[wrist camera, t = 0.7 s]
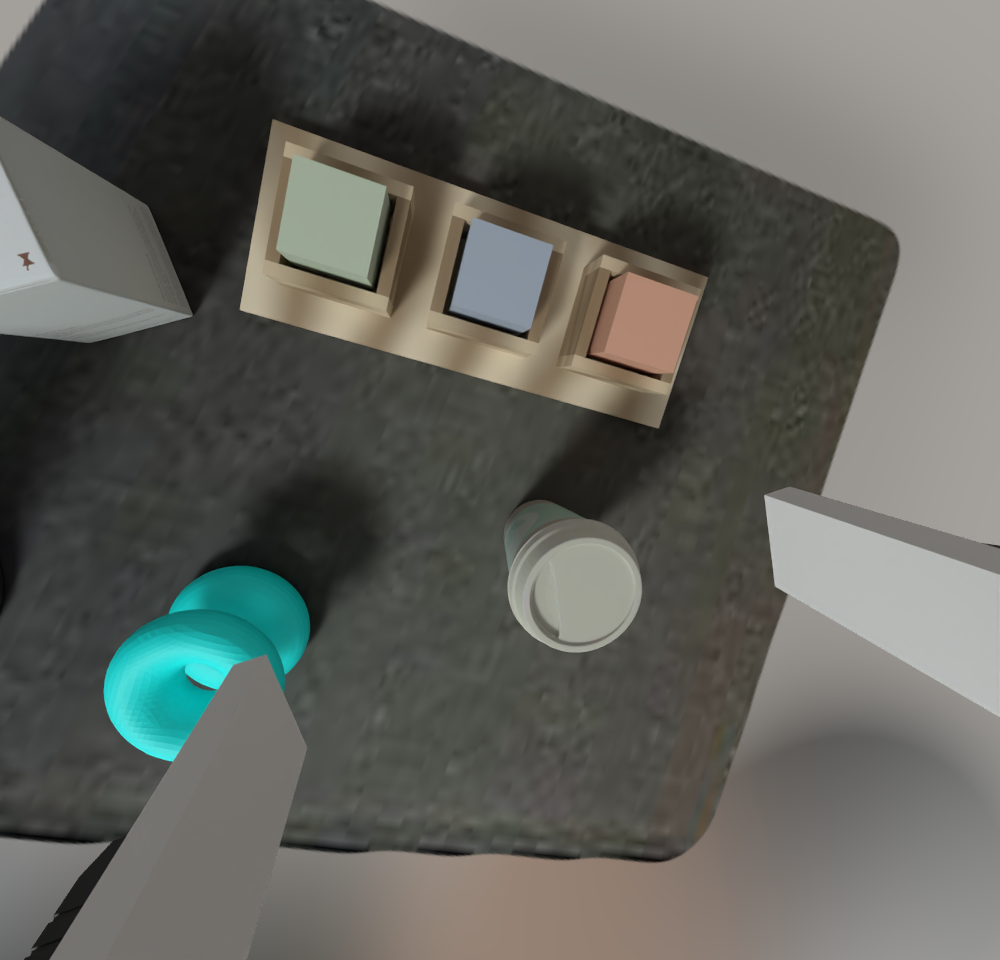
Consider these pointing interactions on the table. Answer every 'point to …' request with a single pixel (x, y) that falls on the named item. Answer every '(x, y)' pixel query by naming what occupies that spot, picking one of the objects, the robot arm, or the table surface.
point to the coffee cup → (569, 577)
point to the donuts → (201, 653)
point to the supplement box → (76, 250)
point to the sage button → (334, 222)
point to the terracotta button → (641, 324)
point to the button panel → (431, 281)
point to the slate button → (500, 277)
